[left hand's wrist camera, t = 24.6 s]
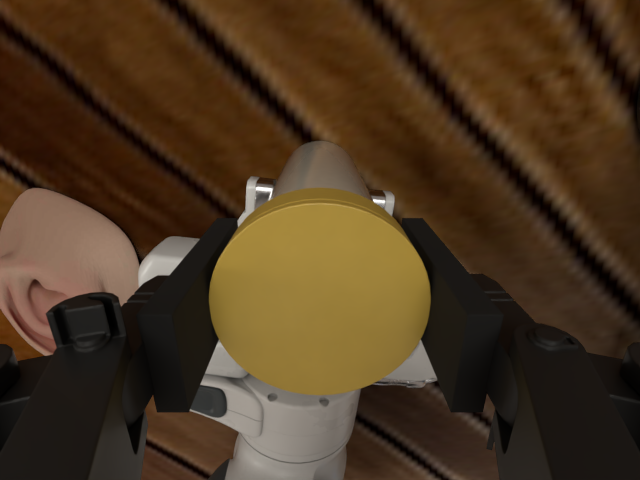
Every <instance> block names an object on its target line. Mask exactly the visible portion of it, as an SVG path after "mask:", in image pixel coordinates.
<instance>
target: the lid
mask: <svg viewBox="0 0 640 480" xmlns="http://www.w3.org/2000/svg"><path fill="white" fill-rule="evenodd" d="M430 304H431V290H430V283H429V279H428V275H427V271H426V269H425V266H424V264H423V262H422V259H421V258H420V256H419V255H418V253H417V251H416V250H415V248H414V246H413V245H412V243H411V242H410V240H409V238H408V237H407V235H406V234H405V232H404V230H403V229H402V227H401V226H400V225H399V224H398V222H397V221H396V220H395V219H394V218H393V217H392V216H391V215H390V214H389V213H388V212H387V211H386V210H384V209H383V208H382V207H380V206H379V205H377V204H376V203H374V202H373V201H371V200H369V199H367V198H365V197H363V196H361V195H358V194H355V193H352V192H349V191H345V190H340V189H335V188H321V187H320V188H305V189H300V190H295V191H291V192H288V193H285V194H282V195H279V196H277V197H275V198H273V199H271V200H269V201H267V202H266V203H264V204H262V205H261V206H259V207H258V208H257V209H255V210H254V211H253V212H252V213H251V214H250V215H249V216H247V217H246V219H245V220H244V221H243V222H242V223H241V225H240V226H239V227H238V229H237V230H236V232H235V233H234V235H233V236H232V238H231V240H230V241H229V243H228V244H227V246H226V248H225V249H224V251H223V252H222V254H221V256H220V257H219V259H218V261H217V264H216V266H215V268H214V270H213V274H212V278H211V281H210V288H209V306H210V314H211V320H212V324H213V326H214V329H215V332H216V334H217V336H218V338H219V340H220V342H221V344H222V345H223V347H224V348H225V350H226V351H227V352H228V354H229V355H230V356H231V357H232V358H233V359H234V361H235V362H236V363H237V364H238V365H240V366H241V367H242V368H243V369H244V370H245V371H247V372H248V373H250V374H251V375H253V376H254V377H256V378H257V379H259V380H261V381H263V382H265V383H267V384H269V385H271V386H274V387H276V388H279V389H282V390H286V391H289V392H293V393H299V394H305V395H334V394H341V393H347V392H350V391H354V390H358V389H361V388H363V387H366V386H369V385H371V384H373V383H375V382H377V381H379V380H381V379H383V378H384V377H386V376H387V375H389V374H390V373H392V372H393V371H394V370H395V369H397V368H398V367H399V366H400V365H401V364H402V363H403V362H404V361H405V360H406V359H407V358H408V357H409V356H410V355H411V353H412V352H413V351H414V349H415V348H416V347H417V345H418V343H419V341H420V340H421V338H422V336H423V334H424V331H425V329H426V326H427V323H428V319H429V312H430Z"/></svg>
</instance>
